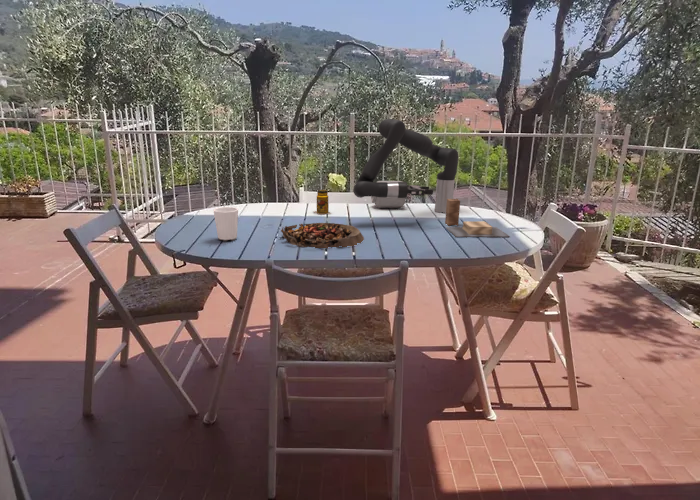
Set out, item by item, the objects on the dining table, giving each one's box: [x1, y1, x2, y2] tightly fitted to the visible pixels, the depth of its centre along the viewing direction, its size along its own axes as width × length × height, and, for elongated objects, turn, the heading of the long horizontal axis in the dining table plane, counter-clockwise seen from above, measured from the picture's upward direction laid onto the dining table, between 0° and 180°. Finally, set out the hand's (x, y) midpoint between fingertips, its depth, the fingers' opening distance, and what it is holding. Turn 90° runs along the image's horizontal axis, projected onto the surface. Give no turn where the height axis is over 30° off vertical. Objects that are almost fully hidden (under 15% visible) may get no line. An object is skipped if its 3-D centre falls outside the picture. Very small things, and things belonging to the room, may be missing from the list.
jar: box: [365, 180, 407, 211], centre depth 267 cm, size 19×15×25 cm
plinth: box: [445, 220, 511, 239], centre depth 220 cm, size 24×16×4 cm, turn 94°
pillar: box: [444, 198, 461, 227], centre depth 233 cm, size 5×5×12 cm
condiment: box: [313, 189, 332, 216], centre depth 253 cm, size 7×8×12 cm
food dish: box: [280, 222, 365, 249], centre depth 206 cm, size 35×33×8 cm
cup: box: [213, 206, 239, 242], centre depth 201 cm, size 10×10×13 cm
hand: (430, 190), depth 229 cm, fingers open, 8 cm apart
